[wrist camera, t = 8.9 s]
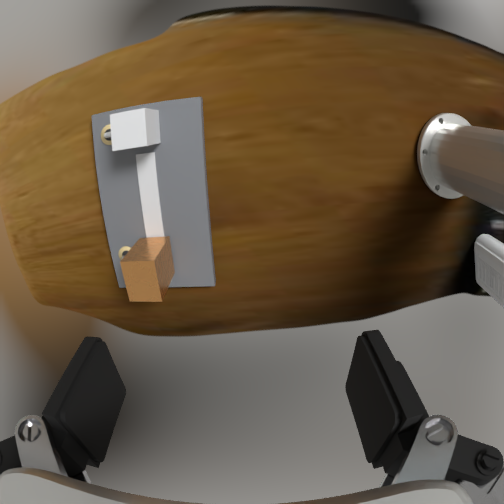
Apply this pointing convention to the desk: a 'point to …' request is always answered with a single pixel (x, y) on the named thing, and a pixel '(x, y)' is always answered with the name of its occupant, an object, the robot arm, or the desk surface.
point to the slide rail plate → (156, 184)
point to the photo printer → (490, 266)
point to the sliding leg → (148, 269)
